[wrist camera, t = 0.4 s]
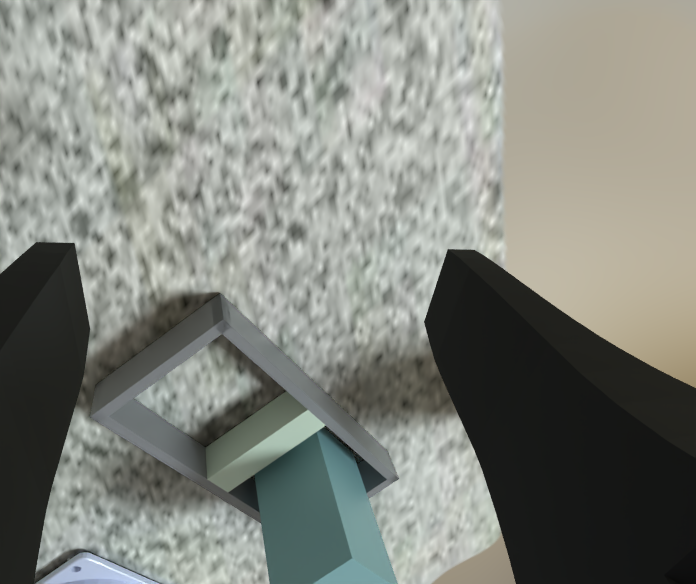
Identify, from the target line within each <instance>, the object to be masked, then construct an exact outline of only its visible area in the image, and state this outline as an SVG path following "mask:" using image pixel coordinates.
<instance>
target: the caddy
mask: <svg viewBox="0 0 696 584" xmlns="http://www.w3.org/2000/svg"><path fill="white" fill-rule="evenodd" d="M221 334H223V335H224V336H225V337H226V338H227V339H228V340H229V341H231V342H232V343H233V344H234V345H235V346H236V347H237V348H238V349H240V350H241V351H242V352H243V353H244V354H245V355H246V356H248V357H249V358H250V359H251V360H252V361H253V362H254V363H255V364H257V365H258V366H259V367H260V368H261V369H262V370H263V371H265V372H266V373H267V374H268V375H269V376H270V377H271V378H272V379H274V380H275V381H276V382H277V383H278V384H279V385H280V386H282V387H283V388H284V389H285V390H286V392H284V393H283V394H281V395H280V396H279V397H277V398H276V399H274V400H273V401H271V402H270V403H269V404H267V405H266V406H264V407H263V408H261V409H260V410H259V411H257V412H256V413H254V414H253V415H251V416H250V417H249V418H247V419H246V420H244V421H243V422H241V423H240V424H239V425H237V426H236V427H234V428H233V429H231V430H230V431H229V432H227V433H226V434H224V435H223V436H221V437H220V438H219V439H217V440H216V441H214V442H213V443H211V444H210V445H209V446H207V447H206V448H205V447H204V446H202V445H201V444H200V443H198V442H197V441H195V440H194V439H192V438H191V437H189V436H188V435H186V434H185V433H183V432H182V431H181V430H179V429H178V428H176V427H175V426H173V425H172V424H170V423H169V422H167V421H166V420H164V419H163V418H162V417H160V416H159V415H157V414H156V413H154V412H153V411H151V410H150V409H148V408H147V407H145V406H144V405H143V404H141V403H140V402H138V401H137V400H135V399H134V398H135V397H136V396H137V395H139V394H140V393H141V392H143V391H144V390H146V389H147V388H148V387H150V386H151V385H152V384H154V383H155V382H157V381H158V380H159V379H161V378H162V377H163V376H165V375H166V374H168V373H169V372H170V371H172V370H173V369H174V368H176V367H177V366H179V365H180V364H181V363H183V362H184V361H185V360H187V359H188V358H190V357H191V356H192V355H194V354H195V353H196V352H198V351H199V350H201V349H202V348H203V347H205V346H206V345H207V344H209V343H210V342H212V341H213V340H214V339H216V338H217V337H218V336H220V335H221ZM90 418H92V419H93V420H95V421H97V422H98V423H100V424H102V425H103V426H105V427H106V428H108V429H110V430H111V431H113V432H114V433H116V434H118V435H119V436H121V437H122V438H124V439H126V440H127V441H129V442H131V443H132V444H134V445H135V446H137V447H139V448H140V449H142V450H143V451H145V452H147V453H148V454H150V455H152V456H153V457H155V458H156V459H158V460H160V461H161V462H163V463H164V464H166V465H168V466H169V467H171V468H173V469H174V470H176V471H177V472H179V473H181V474H182V475H184V476H185V477H187V478H189V479H190V480H192V481H193V482H195V483H197V484H198V485H200V486H202V487H203V488H205V489H206V490H208V491H210V492H211V493H213V494H214V495H216V496H218V497H219V498H221V499H223V500H224V501H226V502H227V503H229V504H231V505H232V506H234V507H235V508H237V509H239V510H240V511H242V512H244V513H245V514H247V515H248V516H250V517H252V518H253V519H255V520H256V521H258V522H260V523H261V518H260V510H259V503H258V496H257V489H256V482H255V481H254V480H252V479H251V478H250V477H251V476H253V475H254V474H256V473H257V472H259V471H260V470H262V469H263V468H264V467H266V466H267V465H269V464H270V463H272V462H273V461H275V460H276V459H278V458H279V457H281V456H282V455H283V454H285V453H286V452H288V451H289V450H291V449H292V448H294V447H295V446H297V445H298V444H300V443H301V442H302V441H304V440H305V439H307V438H308V437H310V436H311V435H313V434H314V433H316V432H317V431H319V430H320V429H322V428H323V427H324V426H327V427H328V428H329V429H330V430H331V431H333V432H334V433H335V434H336V435H337V436H338V437H339V438H341V439H342V440H343V441H344V442H345V443H346V444H347V445H348V446H350V447H351V448H352V449H353V450H354V451H355V452H356V453H358V454H359V455H360V456H361V457H362V458H363V459H364V460H363V461H361V462H360V463H358V464H357V467H358V469H359V472H360V475H361V478H362V481H363V484H364V487H365V490H366V493H367V496H368V499H369V498H370V497H372V496H373V495H375V494H376V493H378V492H380V491H381V490H383V489H384V488H386V487H387V486H389V485H390V484H392V483H393V482H395V481H396V480H398V479H399V477H398V475H397V472H396V470H395V468H394V465H393V463H392V460H391V458H390V455H389V453H388V451H387V450H386V449H385V448H384V447H383V446H382V445H381V444H380V443H379V442H378V441H377V440H376V439H375V438H373V437H372V436H371V435H370V434H369V433H368V432H367V431H366V430H365V429H364V428H363V427H362V426H361V425H360V424H359V423H358V422H357V421H355V420H354V419H353V418H352V417H351V416H350V415H349V414H348V413H347V412H346V411H345V410H344V409H343V408H342V407H341V406H340V405H339V404H337V403H336V402H335V401H334V400H333V399H332V398H331V397H330V396H329V395H328V394H327V393H326V392H325V391H324V390H323V389H322V388H321V387H319V386H318V385H317V384H316V383H315V382H314V381H313V380H312V379H311V378H310V377H309V376H308V375H307V374H306V373H305V372H304V371H303V370H301V369H300V368H299V367H298V366H297V365H296V364H295V363H294V362H293V361H292V360H291V359H290V358H289V357H288V356H287V355H286V354H285V353H283V352H282V351H281V350H280V349H279V348H278V347H277V346H276V345H275V344H274V343H273V342H272V341H271V340H270V339H269V338H268V337H267V336H265V335H264V334H263V333H262V332H261V331H260V330H259V329H258V328H257V327H256V326H255V325H254V324H253V323H252V322H251V321H250V320H249V319H247V318H246V317H245V316H244V315H243V314H242V313H241V312H240V311H239V310H238V309H237V308H236V307H235V306H234V305H233V304H232V303H231V302H229V301H228V300H227V299H226V298H225V297H224V296H223V295H222V294H221V293H219V294H218V295H217V296H215V297H214V298H213V299H211V300H210V301H209V302H207V303H206V304H205V305H203V306H202V307H200V308H199V309H198V310H196V311H195V312H194V313H192V314H191V315H190V316H188V317H187V318H186V319H184V320H183V321H182V322H180V323H179V324H178V325H176V326H175V327H173V328H172V329H171V330H169V331H168V332H167V333H165V334H164V335H163V336H161V337H160V338H159V339H157V340H156V341H155V342H153V343H152V344H150V345H149V346H148V347H146V348H145V349H144V350H142V351H141V352H140V353H138V354H137V355H136V356H134V357H133V358H132V359H130V360H129V361H127V362H126V363H125V364H123V365H122V366H121V367H119V368H118V369H117V370H115V371H114V372H113V373H111V374H110V375H109V376H107V377H106V378H104V379H103V380H102V381H100V382H99V383H98V384H96V387H95V392H94V397H93V402H92V408H91V413H90Z"/></svg>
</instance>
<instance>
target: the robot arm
mask: <svg viewBox="0 0 696 584" xmlns="http://www.w3.org/2000/svg"><path fill="white" fill-rule="evenodd" d="M424 323H425V327H426V330H427V334H428V338H429V342H430V346H431V349H432V352H433V356H434V359H435V362H436V365H437V367H438V369H439V372H440V374H441V376H442V379H443V381H444V383H445V386H446V388H447V390H448V392H449V395H450V397H451V399H452V401H453V404H454V406H455V408H456V410H457V412H458V415H459V417H460V419H461V421H462V424H463V426H464V428H465V430H466V432H467V435H468V437H469V439H470V441H471V444H472V446H473V448H474V450H475V453H476V455H477V458H478V460H479V463H480V466H481V468H482V471H483V474H484V477H485V480H486V483H487V486H488V489H489V492H490V495H491V499H492V502H493V505H494V508H495V511H496V514H497V518H498V521H499V525H500V528H501V531H502V535H503V538H504V541H505V545H506V548H507V552H508V555H509V559H510V563H511V567H512V570H513V574H514V578H515V582H516V584H696V388H694V387H692V386H690V385H688V384H686V383H684V382H682V381H680V380H678V379H675V378H673V377H671V376H669V375H667V374H666V373H664V372H662V371H660V370H658V369H656V368H654V367H652V366H650V365H648V364H647V363H645V362H643V361H641V360H639V359H638V358H636V357H634V356H632V355H631V354H629V353H627V352H625V351H623V350H622V349H620V348H618V347H616V346H615V345H613V344H611V343H610V342H608V341H606V340H605V339H603V338H601V337H600V336H598V335H597V334H595V333H594V332H592V331H591V330H589V329H588V328H586V327H585V326H583V325H582V324H580V323H578V322H577V321H575V320H574V319H572V318H571V317H569V316H568V315H567V314H565V313H564V312H562V311H561V310H559V309H558V308H556V307H555V306H554V305H552V304H551V303H549V302H548V301H547V300H545V299H544V298H542V297H541V296H540V295H538V294H537V293H535V292H534V291H532V290H531V289H530V288H529V287H527V286H526V285H524V284H523V283H521V282H520V281H519V280H518V279H516V278H515V277H514V276H512V275H511V274H509V273H508V272H507V271H505V270H504V269H503V268H501V267H500V266H498V265H497V264H495V263H494V262H493V261H491V260H490V259H488V258H487V257H485V256H484V255H482V254H480V253H479V252H477V251H475V250H454V249H448V251H447V254H446V257H445V260H444V263H443V266H442V269H441V272H440V275H439V278H438V281H437V284H436V287H435V290H434V294H433V297H432V300H431V303H430V306H429V309H428V312H427V315H426V318H425V321H424ZM89 333H90V326H89V320H88V315H87V309H86V304H85V298H84V293H83V287H82V282H81V276H80V271H79V265H78V260H77V254H76V249H75V244H74V243H45V242H36V243H35V244H34V245H33V246H31V247H30V248H29V249H28V250H27V251H26V252H25V253H23V254H22V255H21V256H20V257H19V258H18V259H17V260H15V261H14V262H13V263H12V264H11V265H10V266H9V267H8V268H7V269H5V270H4V271H3V272H2V273H1V274H0V584H34V578H35V572H36V565H37V560H38V554H39V548H40V542H41V537H42V531H43V525H44V519H45V514H46V509H47V505H48V501H49V496H50V492H51V488H52V484H53V481H54V477H55V474H56V470H57V467H58V464H59V460H60V457H61V453H62V450H63V446H64V443H65V439H66V436H67V432H68V429H69V426H70V422H71V419H72V415H73V412H74V408H75V405H76V401H77V398H78V394H79V390H80V387H81V383H82V379H83V375H84V369H85V362H86V355H87V348H88V340H89ZM35 584H159V583H157V582H155V581H152V580H150V579H148V578H145V577H143V576H141V575H139V574H136V573H134V572H132V571H130V570H127V569H125V568H123V567H121V566H118V565H116V564H114V563H112V562H109V561H107V560H105V559H102V558H100V557H98V556H96V555H93V554H91V553H88V552H83V553H79V554H77V555H76V556H74V557H73V558H71V559H70V560H68V561H67V562H66V563H64V564H63V565H61V566H60V567H58V568H57V569H56V570H54V571H53V572H51V573H50V574H48V575H47V576H45V577H44V578H43V579H41V580H40V581H38V582H37V583H35Z"/></svg>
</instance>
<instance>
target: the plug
mask: <svg viewBox="0 0 696 584" xmlns="http://www.w3.org/2000/svg"><path fill="white" fill-rule="evenodd" d="M254 475H255V482H256V489H257V496H258V503H259V510H260V518H261V525H262V532H263V539H264V546H265V553H266V560H267V567H268V574H269V581H270V584H398V583H397V580H396V577H395V574H394V571H393V569H392V566H391V563H390V560H389V557H388V554H387V551H386V548H385V545H384V542H383V539H382V536H381V534H380V531H379V528H378V525H377V522H376V519H375V516H374V513H373V510H372V507H371V504H370V502H369V499H368V496H367V493H366V490H365V487H364V484H363V481H362V478H361V475H360V472H359V469H358V467H357V464H356V461H355V458H354V455H353V452H352V451H350V450H349V449H348V448H347V447H346V446H345V445H344V444H342V443H341V442H340V441H339V440H338V439H337V438H336V437H334V436H333V435H332V434H331V433H330V432H329V431H328V430H327V429H325V428H324V427H323V428H322V429H320V430H319V431H317V432H316V433H314V434H313V435H311V436H310V437H308V438H307V439H305V440H304V441H302V442H301V443H300V444H298V445H297V446H295V447H294V448H292V449H291V450H289V451H288V452H286V453H285V454H283V455H282V456H281V457H279V458H278V459H276V460H275V461H273V462H272V463H270V464H269V465H267V466H266V467H264V468H263V469H262V470H260V471H259V472H257V473H256V474H254Z"/></svg>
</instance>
